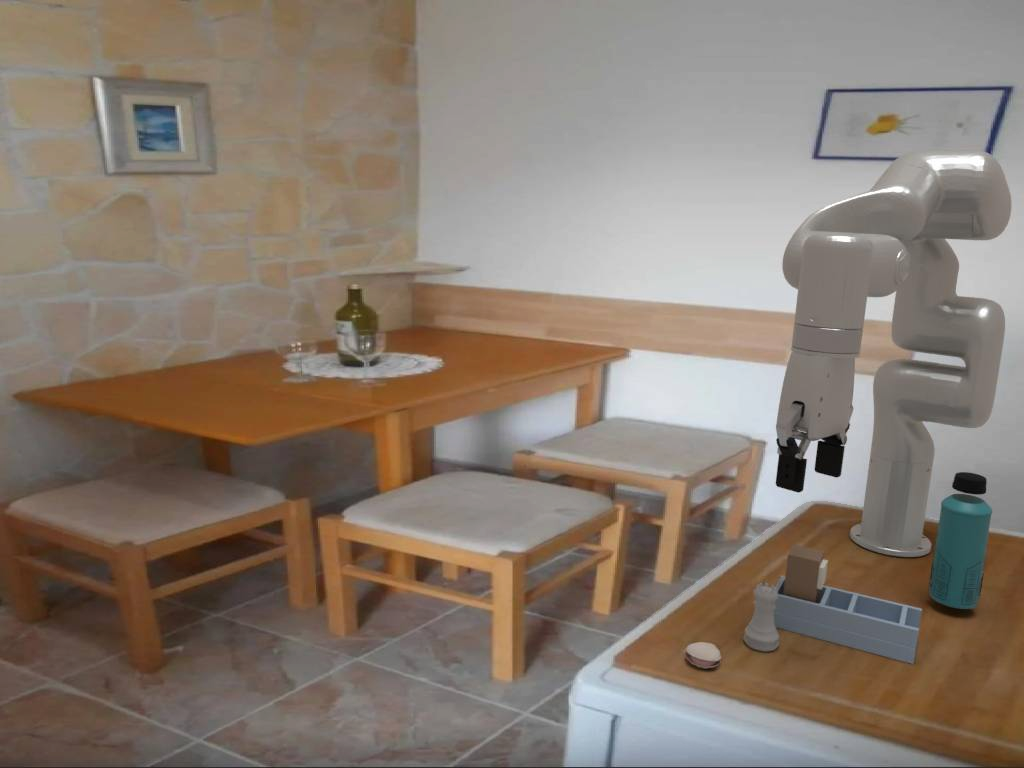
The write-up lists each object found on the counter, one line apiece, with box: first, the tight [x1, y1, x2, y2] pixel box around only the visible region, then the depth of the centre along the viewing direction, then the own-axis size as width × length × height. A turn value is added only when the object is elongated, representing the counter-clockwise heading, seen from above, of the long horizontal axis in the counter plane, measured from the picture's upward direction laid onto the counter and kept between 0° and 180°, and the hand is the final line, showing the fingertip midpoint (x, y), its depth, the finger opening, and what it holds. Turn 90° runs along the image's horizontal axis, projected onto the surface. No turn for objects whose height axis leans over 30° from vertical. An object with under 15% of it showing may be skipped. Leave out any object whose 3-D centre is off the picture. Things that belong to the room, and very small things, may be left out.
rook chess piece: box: [743, 582, 780, 653], centre depth 105 cm, size 4×4×8 cm
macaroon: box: [685, 641, 722, 670], centre depth 101 cm, size 4×5×2 cm
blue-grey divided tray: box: [774, 544, 923, 665], centre depth 108 cm, size 7×18×10 cm, turn 60°
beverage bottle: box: [928, 471, 993, 610], centre depth 115 cm, size 6×7×20 cm
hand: (808, 481), depth 99 cm, fingers open, 9 cm apart
